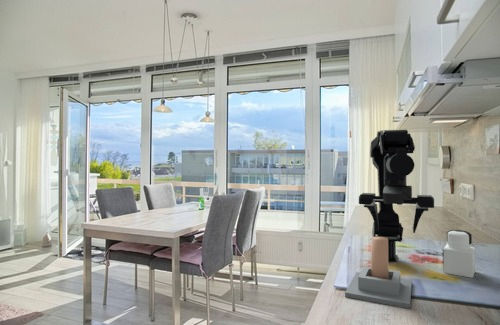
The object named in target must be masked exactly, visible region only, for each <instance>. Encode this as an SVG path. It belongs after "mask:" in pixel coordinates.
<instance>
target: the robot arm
mask: <svg viewBox="0 0 500 325" xmlns="http://www.w3.org/2000/svg"><path fill="white" fill-rule="evenodd" d="M369 148H370V149H369V156H370V158H371V161H372V165H373V166H374V168H375V169H376V171H377V187H378V188H377V190H378V192H377V193H378V195H376V193H374V192H373V193H372V192H371V193H370V192H362V193H360V194H359V196H358V204H359V205H363V208H367V210H368V211H369V212H370V215H371V217H372V220H373V222H372V232H371V234H372V235H371V237H385V238H388V262H394V263H395V262H397V261H398V258H399V256H398V254H397V252H396V251H397V250H396V249H397V242H399V243H402V242H403V236H404V235H403V232H404V227H403V225H402V223H401V222H400V216H399V214H398V213H397V212H396V211H395V209H394V205H398V206H399V205H400V206H401V205H403V204H406V205H416V206H415V213H414V219H413V226H412V233H413V234H414V233H415V234H416V231H417V228H418V224H419V222H420V219H421V217H422V215H423V213H424V212H428V211H429V208H430V209H434V208H435V198H434V196H432V194H431V195H430V194H429V195H428V194H416V195H417V196H416V197H413V191H412V190H413V187H412V185H407V177H408V176H410V174H411V173H412V172H413V171H414V169H415V161H414V159H413V157H412V156H410V155H408V154H414V152H415V148H416V146H415V143H414V139H413V137H412V136H411V133H410V132H408V129H384V130H378V131H377V133H376V137H374V138H373V139H372V140H371V142H370V147H369ZM377 203H378V204H377ZM378 206H379V207H378ZM378 208H379V209H378ZM378 210H379V211H378Z"/></svg>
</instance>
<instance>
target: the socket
mask: <svg viewBox="0 0 500 325" xmlns="http://www.w3.org/2000/svg"><path fill="white" fill-rule="evenodd" d="M412 280H413V279H406V278H401V271H400V270H395V269H394V270H393V269H388V279H382V278H376V277H371V267H370V266H365V265H364V266H363V267H362V269H361V271H359V272H358V271H356V272H355V274H354V276H353V277H352V279H351V281H350V283H349V284H348V287H347V288H346V290H345V291H344V297H345V298H352V299H355V300H356V299H357V300H361V301H366V302H367V301H368V302H372V303H379V304H383V305H388V306H389V305H390V306H395V307H400V308H405V309H410V308H411V299H412V283H413V282H412Z"/></svg>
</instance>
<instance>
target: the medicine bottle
mask: <svg viewBox="0 0 500 325" xmlns="http://www.w3.org/2000/svg"><path fill="white" fill-rule="evenodd" d="M472 236H473V235H472V233H470V232H469V231H467V230H463V229H461V230H460V229H449V230H448V231H447V232H446V245H445V246H444V247H443V249H442V270H443V271H442V272H443V273H444V274H448V275H454V276H459V277H464V278H470V279H473V278H474V275H475V273H476V248H475V247H474V246H472V242H473V240H472V238H473V237H472Z"/></svg>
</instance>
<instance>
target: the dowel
mask: <svg viewBox="0 0 500 325" xmlns="http://www.w3.org/2000/svg"><path fill="white" fill-rule="evenodd" d="M370 240H371V241H370V243H371V244H370V246H371V247H370V249H371V250H370V252H371V253H370V254H371V255H370V256H371V258H370V260H371V277H376V278H382V279H388V270H389V261H388V238H385V237H372V236H371V239H370Z"/></svg>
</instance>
